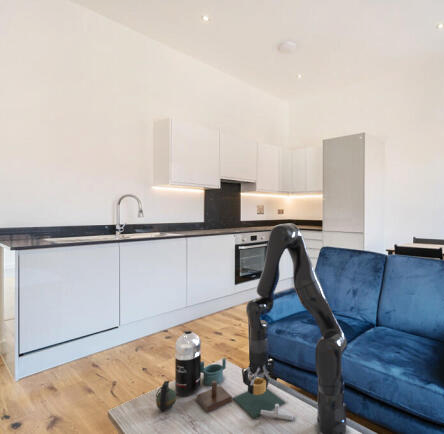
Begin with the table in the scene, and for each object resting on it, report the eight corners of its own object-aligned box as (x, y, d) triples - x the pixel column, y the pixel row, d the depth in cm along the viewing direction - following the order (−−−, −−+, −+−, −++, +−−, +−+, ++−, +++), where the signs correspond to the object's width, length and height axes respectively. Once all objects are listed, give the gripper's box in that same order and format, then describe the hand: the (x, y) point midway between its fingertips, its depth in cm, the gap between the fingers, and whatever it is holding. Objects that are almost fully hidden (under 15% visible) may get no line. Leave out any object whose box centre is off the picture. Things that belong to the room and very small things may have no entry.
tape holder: (231, 401, 121) (231, 382, 121) (207, 412, 114) (207, 392, 114) (220, 390, 128) (220, 372, 128) (196, 399, 122) (196, 381, 122)
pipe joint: (260, 415, 112) (260, 403, 112) (261, 412, 114) (262, 400, 114) (291, 421, 110) (292, 409, 110) (292, 418, 111) (293, 406, 111)
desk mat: (284, 403, 120) (284, 402, 120) (254, 419, 111) (254, 418, 111) (262, 385, 132) (262, 384, 132) (232, 398, 123) (232, 397, 123)
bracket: (198, 382, 134) (198, 362, 134) (214, 372, 142) (214, 353, 142) (212, 388, 130) (212, 367, 130) (228, 378, 138) (228, 358, 137)
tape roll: (268, 390, 121) (268, 382, 121) (255, 396, 117) (255, 387, 117) (260, 384, 126) (260, 375, 126) (247, 390, 121) (247, 381, 121)
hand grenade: (159, 403, 119) (159, 378, 119) (178, 402, 120) (178, 376, 120) (152, 417, 111) (152, 389, 111) (172, 415, 112) (172, 388, 112)
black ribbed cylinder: (191, 398, 122) (192, 336, 122) (169, 395, 124) (169, 334, 124) (205, 384, 132) (206, 327, 132) (184, 381, 134) (184, 325, 134)
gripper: (247, 357, 113) (247, 401, 114) (279, 346, 123) (278, 387, 123) (237, 350, 119) (237, 392, 119) (268, 340, 129) (267, 379, 129)
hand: (258, 389), depth 121 cm, fingers closed on tape roll, 6 cm apart
